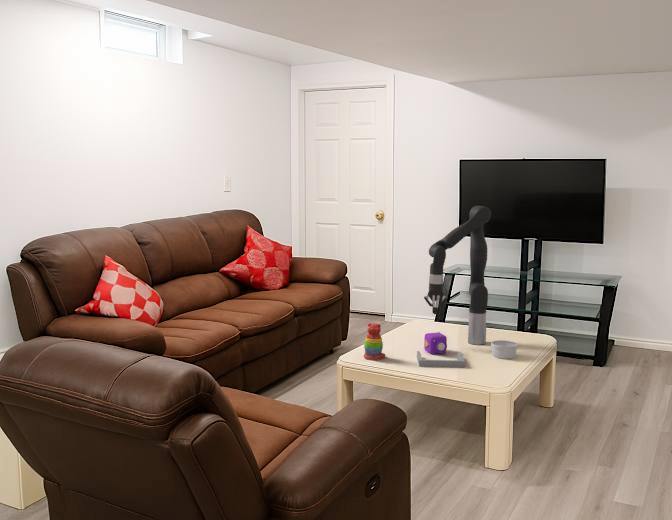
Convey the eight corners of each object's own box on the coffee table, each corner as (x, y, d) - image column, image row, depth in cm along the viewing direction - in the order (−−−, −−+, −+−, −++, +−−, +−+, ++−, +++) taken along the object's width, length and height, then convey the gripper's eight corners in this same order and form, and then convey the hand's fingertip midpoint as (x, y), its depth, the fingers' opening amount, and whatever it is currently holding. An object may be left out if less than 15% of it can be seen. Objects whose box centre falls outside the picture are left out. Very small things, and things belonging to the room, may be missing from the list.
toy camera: (435, 357, 357) (436, 338, 356) (420, 350, 369) (421, 332, 368) (453, 354, 362) (453, 335, 361) (437, 348, 374) (438, 330, 373)
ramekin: (499, 351, 369) (500, 338, 369) (522, 356, 360) (522, 343, 359) (485, 356, 360) (486, 343, 359) (508, 361, 351) (508, 348, 350)
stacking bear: (386, 356, 358) (387, 322, 356) (381, 361, 349) (381, 326, 346) (366, 354, 362) (366, 320, 359) (360, 359, 352) (360, 324, 350)
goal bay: (460, 357, 356) (460, 352, 356) (464, 367, 340) (464, 361, 339) (416, 356, 357) (416, 351, 357) (419, 366, 341) (419, 360, 340)
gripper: (447, 281, 378) (446, 312, 380) (423, 280, 379) (422, 312, 381) (449, 283, 371) (448, 315, 373) (424, 283, 371) (423, 315, 374)
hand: (435, 314), depth 377 cm, fingers closed
